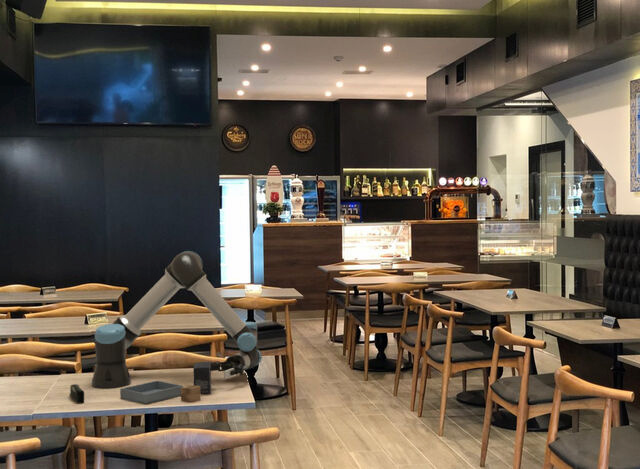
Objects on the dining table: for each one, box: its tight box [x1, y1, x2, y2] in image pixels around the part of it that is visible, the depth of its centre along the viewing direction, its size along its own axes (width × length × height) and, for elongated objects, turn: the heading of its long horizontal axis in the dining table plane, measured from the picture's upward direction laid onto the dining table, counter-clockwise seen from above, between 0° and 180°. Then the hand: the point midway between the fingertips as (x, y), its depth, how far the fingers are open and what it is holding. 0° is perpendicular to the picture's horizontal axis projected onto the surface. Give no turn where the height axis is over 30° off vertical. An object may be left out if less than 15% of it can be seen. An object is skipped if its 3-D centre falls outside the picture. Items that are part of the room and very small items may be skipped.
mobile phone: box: [69, 383, 85, 404], centre depth 284 cm, size 5×3×15 cm
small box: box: [192, 361, 213, 395], centre depth 293 cm, size 11×6×10 cm, turn 6°
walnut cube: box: [180, 384, 202, 403], centre depth 279 cm, size 5×5×5 cm
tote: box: [119, 380, 184, 405], centre depth 285 cm, size 15×17×4 cm
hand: (209, 373), depth 296 cm, fingers open, 13 cm apart
